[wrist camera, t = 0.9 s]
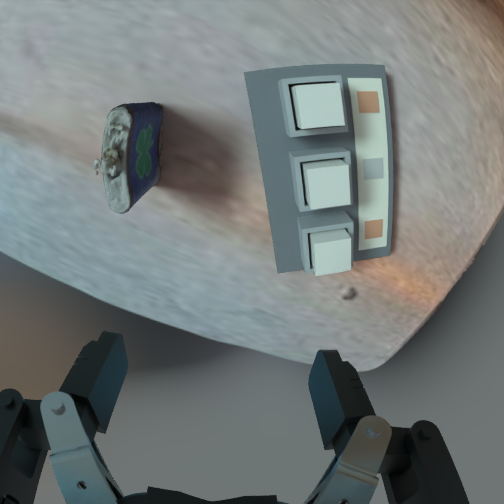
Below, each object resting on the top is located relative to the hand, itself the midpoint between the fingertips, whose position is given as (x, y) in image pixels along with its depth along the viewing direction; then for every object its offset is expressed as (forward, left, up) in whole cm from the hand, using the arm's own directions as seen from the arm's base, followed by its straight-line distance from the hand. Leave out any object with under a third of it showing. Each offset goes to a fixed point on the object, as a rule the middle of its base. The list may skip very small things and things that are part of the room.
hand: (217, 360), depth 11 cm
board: (-1, +10, -22) cm, 24 cm away
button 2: (-8, +8, -19) cm, 22 cm away
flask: (-7, -8, -23) cm, 25 cm away
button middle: (-1, +8, -19) cm, 20 cm away
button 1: (+6, +8, -19) cm, 21 cm away
